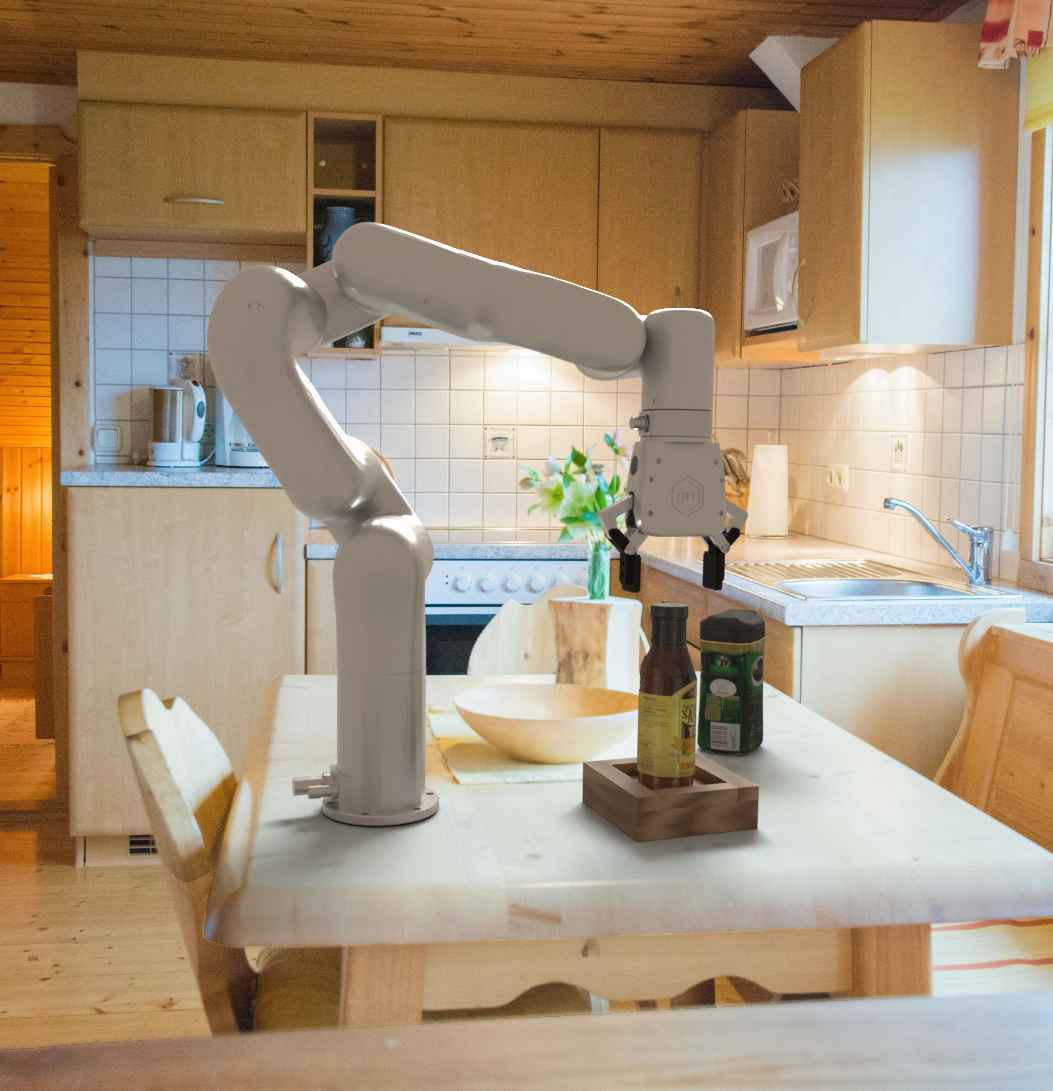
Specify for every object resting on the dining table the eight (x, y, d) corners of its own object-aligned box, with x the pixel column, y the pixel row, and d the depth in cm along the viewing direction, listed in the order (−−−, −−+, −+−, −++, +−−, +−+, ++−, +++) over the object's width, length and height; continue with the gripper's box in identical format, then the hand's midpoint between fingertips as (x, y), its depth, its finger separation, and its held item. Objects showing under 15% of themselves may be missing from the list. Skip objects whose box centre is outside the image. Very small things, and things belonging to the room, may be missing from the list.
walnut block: (636, 841, 114) (637, 797, 114) (582, 801, 127) (583, 761, 127) (757, 827, 119) (758, 785, 119) (693, 790, 132) (694, 752, 132)
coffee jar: (713, 736, 158) (717, 603, 156) (769, 744, 154) (773, 608, 153) (688, 751, 149) (691, 611, 148) (746, 760, 146) (750, 616, 144)
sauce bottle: (692, 797, 119) (697, 609, 117) (633, 793, 120) (637, 607, 119) (696, 780, 125) (701, 601, 124) (639, 776, 127) (643, 599, 125)
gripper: (616, 426, 113) (612, 596, 115) (766, 430, 119) (761, 592, 121) (586, 427, 120) (583, 588, 122) (730, 431, 126) (725, 584, 128)
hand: (672, 590), depth 121 cm, fingers open, 9 cm apart
